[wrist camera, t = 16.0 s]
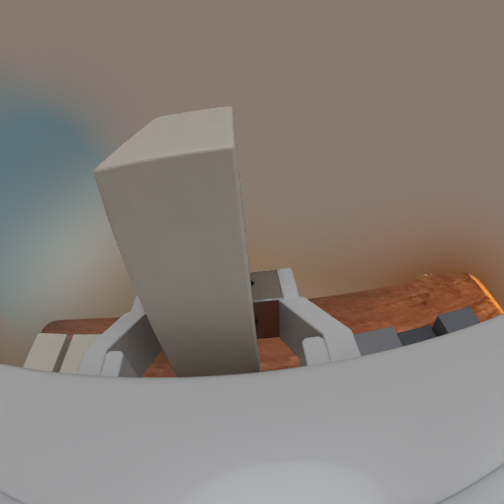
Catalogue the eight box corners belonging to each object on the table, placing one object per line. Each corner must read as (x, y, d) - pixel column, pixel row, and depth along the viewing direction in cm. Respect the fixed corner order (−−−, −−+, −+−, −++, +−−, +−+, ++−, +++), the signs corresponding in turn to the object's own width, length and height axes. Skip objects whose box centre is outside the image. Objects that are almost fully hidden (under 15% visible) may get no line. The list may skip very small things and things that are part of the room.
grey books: (434, 439, 18) (506, 363, 11) (332, 471, 18) (370, 416, 11) (416, 395, 22) (469, 306, 16) (321, 419, 22) (343, 335, 16)
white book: (268, 444, 13) (235, 145, 4) (219, 447, 13) (91, 170, 4) (260, 366, 17) (232, 106, 8) (218, 370, 17) (155, 117, 8)
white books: (264, 488, 17) (247, 434, 10) (116, 482, 17) (6, 408, 9) (258, 422, 23) (239, 316, 15) (124, 423, 23) (42, 324, 15)
